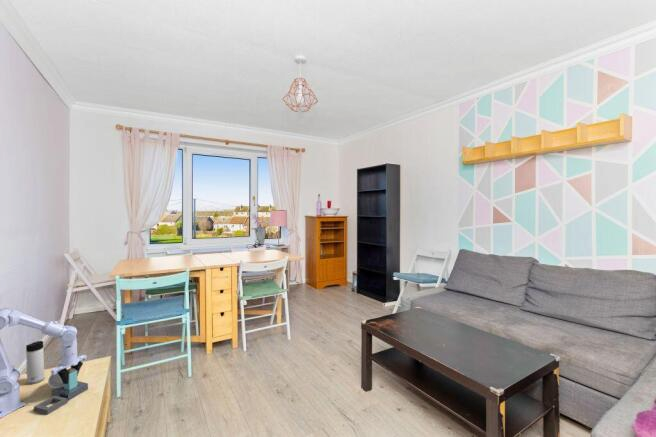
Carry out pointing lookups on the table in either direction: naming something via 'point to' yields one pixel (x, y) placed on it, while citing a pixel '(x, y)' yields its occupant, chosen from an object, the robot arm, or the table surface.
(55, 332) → the robot arm
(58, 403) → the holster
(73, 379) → the plug
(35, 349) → the travel mug
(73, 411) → the table surface
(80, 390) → the port
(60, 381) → the clear glass jar
